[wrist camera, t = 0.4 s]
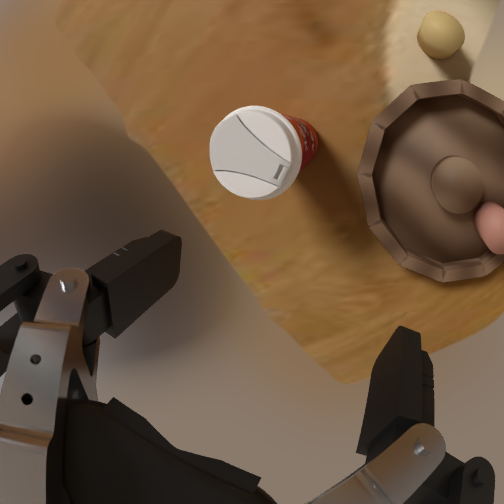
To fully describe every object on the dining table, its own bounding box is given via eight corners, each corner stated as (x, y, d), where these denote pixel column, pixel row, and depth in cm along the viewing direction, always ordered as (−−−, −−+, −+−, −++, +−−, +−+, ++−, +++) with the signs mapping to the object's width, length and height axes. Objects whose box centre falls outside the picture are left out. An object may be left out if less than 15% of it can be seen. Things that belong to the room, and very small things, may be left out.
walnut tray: (387, 56, 25) (388, 50, 23) (547, 136, 20) (558, 138, 17) (338, 231, 36) (335, 240, 34) (485, 291, 31) (490, 303, 28)
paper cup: (339, 128, 31) (315, 133, 20) (309, 184, 35) (270, 222, 24) (278, 98, 32) (222, 89, 21) (253, 153, 36) (190, 175, 25)
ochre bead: (419, 19, 22) (425, 4, 18) (456, 33, 21) (466, 21, 16) (414, 50, 24) (420, 40, 20) (450, 65, 23) (461, 57, 19)
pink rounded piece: (481, 194, 26) (495, 206, 22) (508, 209, 25) (525, 223, 21) (467, 228, 29) (478, 245, 24) (494, 242, 27) (508, 260, 23)
